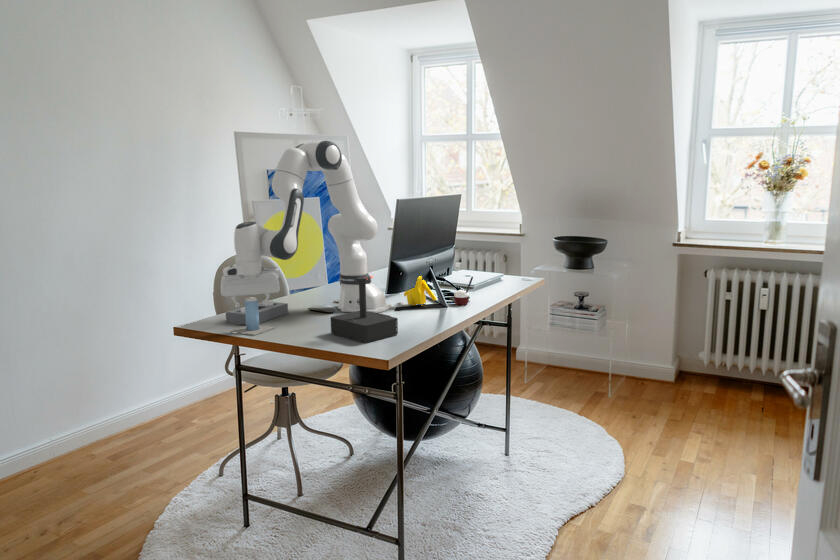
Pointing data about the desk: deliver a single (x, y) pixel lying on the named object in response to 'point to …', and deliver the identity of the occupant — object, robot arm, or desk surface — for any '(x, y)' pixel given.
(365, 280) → the black post stand
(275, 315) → the housing
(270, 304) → the plunger
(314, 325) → the desk surface
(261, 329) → the mat
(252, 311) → the cartridge
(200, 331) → the desk surface
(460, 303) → the cocoa
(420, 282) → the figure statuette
